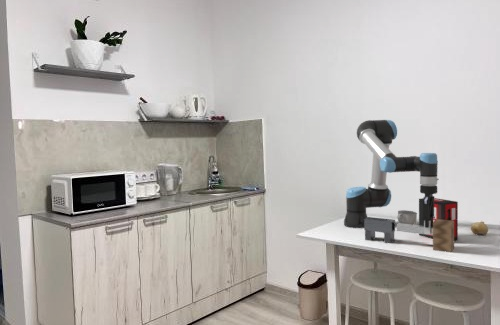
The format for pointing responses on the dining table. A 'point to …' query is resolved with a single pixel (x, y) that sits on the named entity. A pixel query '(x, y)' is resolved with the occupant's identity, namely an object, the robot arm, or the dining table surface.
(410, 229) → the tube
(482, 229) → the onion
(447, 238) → the socket block
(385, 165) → the robot arm
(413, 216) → the teacup
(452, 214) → the cleaning product box
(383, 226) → the grey arched bench
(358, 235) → the dining table surface
